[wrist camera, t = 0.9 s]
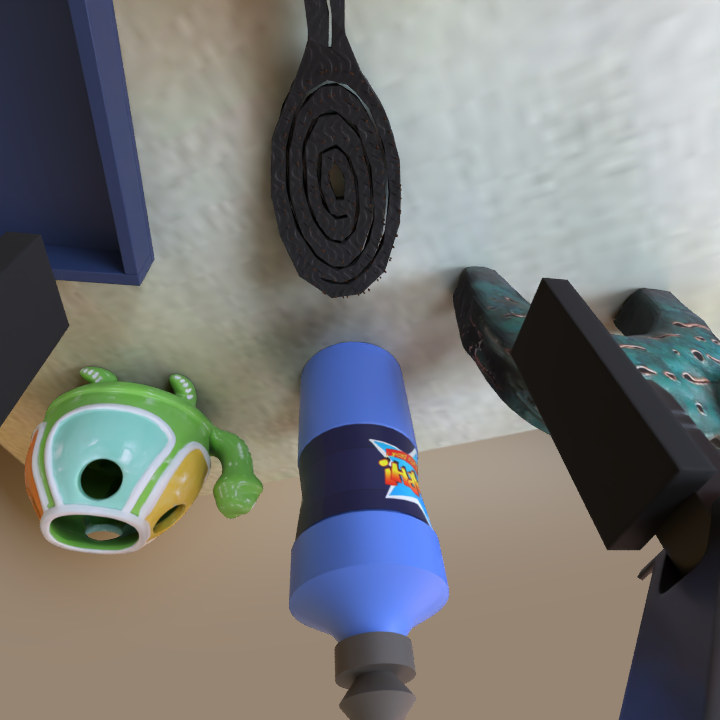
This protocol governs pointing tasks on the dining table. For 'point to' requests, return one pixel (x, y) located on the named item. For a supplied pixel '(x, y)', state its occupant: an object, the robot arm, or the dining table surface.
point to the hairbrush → (332, 251)
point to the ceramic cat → (637, 323)
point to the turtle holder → (129, 463)
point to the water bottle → (363, 527)
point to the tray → (70, 141)
